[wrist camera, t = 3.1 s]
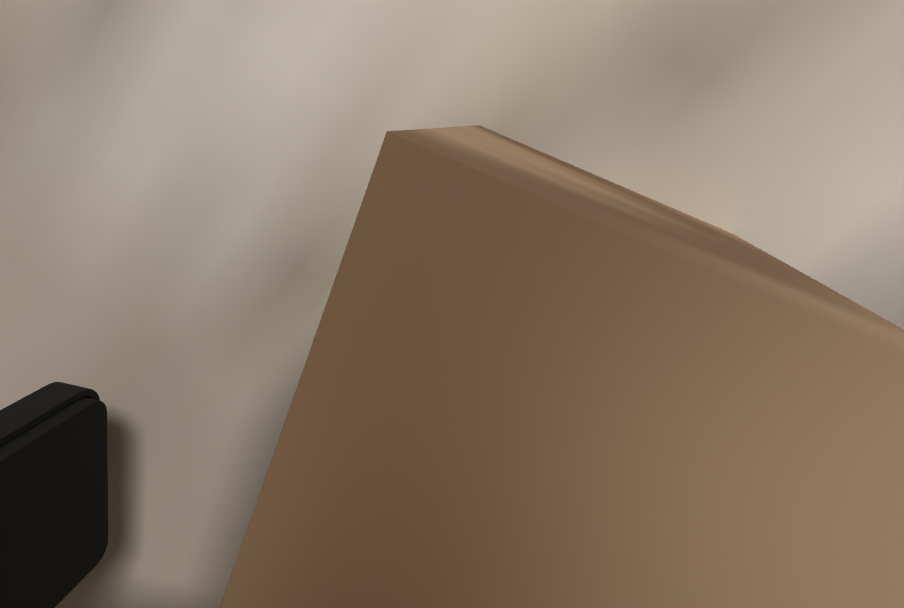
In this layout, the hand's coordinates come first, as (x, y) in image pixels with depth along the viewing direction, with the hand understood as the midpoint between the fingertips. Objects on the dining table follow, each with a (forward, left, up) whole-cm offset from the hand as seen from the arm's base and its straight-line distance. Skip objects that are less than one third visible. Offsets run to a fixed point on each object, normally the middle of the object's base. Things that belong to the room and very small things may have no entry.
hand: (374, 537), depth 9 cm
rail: (0, +4, -2) cm, 4 cm away
